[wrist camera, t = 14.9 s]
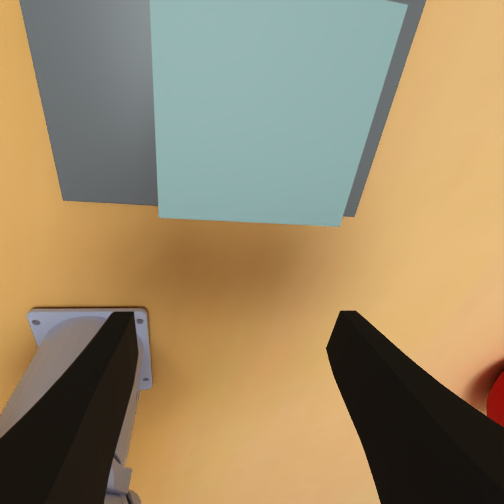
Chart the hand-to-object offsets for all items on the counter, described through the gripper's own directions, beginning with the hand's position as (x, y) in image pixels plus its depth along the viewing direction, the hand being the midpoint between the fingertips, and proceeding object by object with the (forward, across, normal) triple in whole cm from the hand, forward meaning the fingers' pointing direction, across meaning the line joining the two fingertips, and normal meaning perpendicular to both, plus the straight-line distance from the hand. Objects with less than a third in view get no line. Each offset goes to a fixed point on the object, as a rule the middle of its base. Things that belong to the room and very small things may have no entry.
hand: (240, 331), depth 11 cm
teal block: (+5, 0, -7) cm, 8 cm away
